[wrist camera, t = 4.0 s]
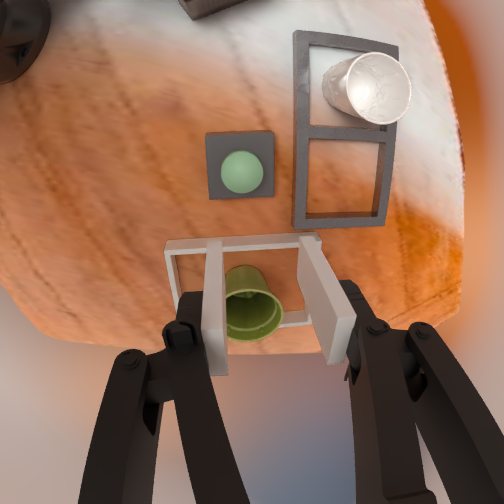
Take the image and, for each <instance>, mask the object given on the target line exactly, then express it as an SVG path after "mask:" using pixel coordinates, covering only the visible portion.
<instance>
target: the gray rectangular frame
mask: <svg viewBox="0 0 504 504" xmlns="http://www.w3.org/2000/svg"><path fill="white" fill-rule="evenodd" d="M299 236H313V237H314V238H315V240H316V242H317V244H318V245H319V247H320V249H321V245H322V240H321V239H320V237H319V235H318V234H317V232H298V233H279V234H260V235H242V236H225V237H209V238H193V239H178V240H167V242H166V245H165V248H164V255H165V260H166V266H167V271H168V276H169V281H170V286H171V291H172V295H173V300H174V305H175V309H176V314H177V309H178V302H179V298H180V297H181V296H182V292H181V287H180V281H179V276H178V270H177V264H176V258H175V255H182V254H199V253H207V242H208V241H222V248H223V252H232V251H249V250H266V249H282V248H299ZM283 313H284V315H283V320H282V322H281V324H280V326H279V327H278V328H283V327H293V326H303V325H312V320H311V317H310V314H309V311H308V309H307V306H306V303H304V310H298V311H287V312H283Z"/></svg>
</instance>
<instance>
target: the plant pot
mask: <svg viewBox="0 0 504 504" xmlns="http://www.w3.org/2000/svg"><path fill="white" fill-rule="evenodd" d="M225 291H226V326H227V338H228V339H231V340H234V341H239V342H253V341H257V340H261V339H263V338H266V337H267V336H269V335H271V334H272V333H273V332H275V331H276V330H277V328H278V327H279V326H280V324H281V322H282V320H283V315H284V313H283V307H282V305H281V303H280V301H279V300H278V298H277V297H276V296H274V295H273V294H272V293H271V292H270V290H269V288H268V286H267V284H266V282H265V279H264V277H263V275H262V273H261V272H260V271H259V270H258V269H257V268H255V267H253V266H249V265H242V266H239V267H236V268H233V269H231V270H230V271H229V272H228V273H227V274H226V276H225ZM236 293H240V294H236Z"/></svg>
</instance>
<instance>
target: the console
mask: <svg viewBox="0 0 504 504" xmlns="http://www.w3.org/2000/svg"><path fill="white" fill-rule="evenodd" d="M205 142H206V159H207V174H208V188H209V200H213V199H230V198H249V197H272V196H274V133H273V132H272V131H271V130H257V131H230V132H213V133H206V135H205ZM239 149H244V150H248V151H251V152H252V153H254V154H255V155H256V156H257V158H258V159H259V161H260V163H261V165H262V168H263V178H262V181H261V183H260V184H259V186H258V187H257V188H256V189H254V190H253V191H251V192H248V193H236V192H233V191H231V190H229V189H228V188H227V187H226V186H225V185H224V183H223V181H222V178H221V166H222V162H223V160H224V158H225V157H226V156H227V155H228V154H229V153H230V152H232V151H235V150H239Z"/></svg>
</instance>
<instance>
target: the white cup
mask: <svg viewBox="0 0 504 504" xmlns="http://www.w3.org/2000/svg"><path fill="white" fill-rule="evenodd" d="M322 89H323V94H324V97H325V98H326V99H327V101H328V102H329V103H330V105H331V106H333V107H335V108H337V109H339V110H340V111H343V112H345V113H347V114H350V115H353V116H355V117H358V118H361V119H364V120H366V121H369V122H372V123H375V124H390V123H393V122H395V121H397V120H399V119H400V118H401V117H402V116H403V115H404V114H405V113H406V111H407V110H408V108H409V105H410V102H411V97H412V87H411V82H410V79H409V76H408V74H407V72H406V71H405V69H404V68H403V66H402V65H401V64H400V63H399V62H398V61H397V60H396V59H394V58H393V57H391V56H389V55H387V54H384V53H380V52H370V53H366V54H363V55H359V56H356V57H353V58H350V59H347V60H345V61H342V62H340V63H339V64H337V65H334V66H332V67H330V68H329V69H328V71H327V72H326V73H325V74H324V77H323V81H322Z"/></svg>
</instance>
